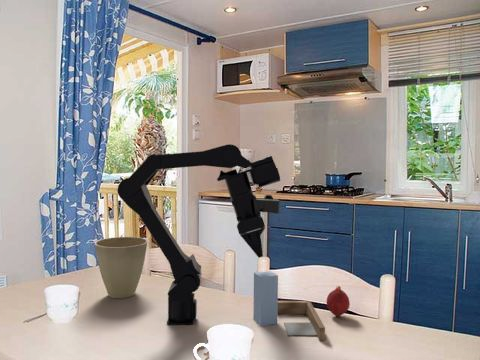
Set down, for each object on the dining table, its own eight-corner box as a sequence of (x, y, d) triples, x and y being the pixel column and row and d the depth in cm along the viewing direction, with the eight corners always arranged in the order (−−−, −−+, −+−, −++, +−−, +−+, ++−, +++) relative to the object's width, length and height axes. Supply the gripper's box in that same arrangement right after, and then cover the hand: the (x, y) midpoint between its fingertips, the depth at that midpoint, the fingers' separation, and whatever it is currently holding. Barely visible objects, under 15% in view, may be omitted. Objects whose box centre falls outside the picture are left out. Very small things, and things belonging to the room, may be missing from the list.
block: (260, 326, 98) (261, 277, 97) (253, 319, 102) (253, 272, 101) (277, 323, 99) (278, 275, 99) (269, 316, 104) (270, 270, 103)
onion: (349, 322, 101) (350, 290, 100) (326, 320, 102) (326, 288, 101) (348, 313, 106) (349, 283, 106) (326, 311, 108) (326, 282, 107)
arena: (282, 340, 90) (283, 327, 90) (274, 312, 107) (274, 300, 107) (324, 340, 90) (325, 327, 90) (309, 311, 107) (310, 300, 107)
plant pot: (84, 297, 117) (83, 242, 117) (123, 284, 130) (123, 235, 129) (119, 307, 109) (119, 249, 109) (158, 292, 122) (157, 240, 121)
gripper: (275, 185, 91) (295, 251, 91) (269, 182, 110) (286, 237, 110) (228, 199, 91) (248, 265, 91) (230, 194, 110) (247, 249, 110)
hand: (259, 253), depth 101 cm, fingers open, 9 cm apart
